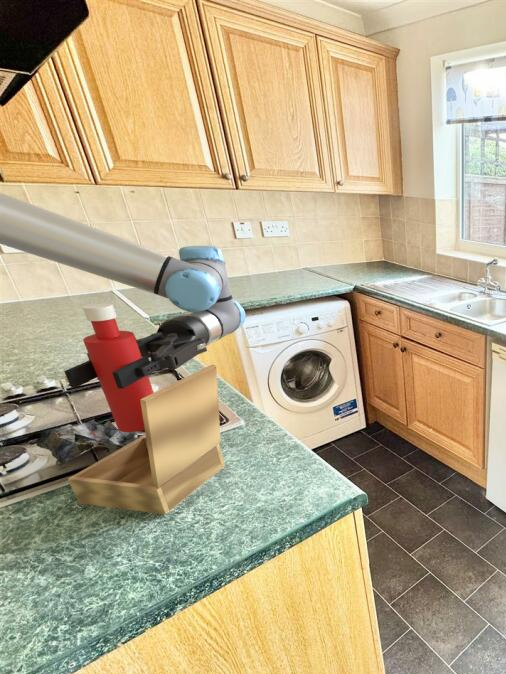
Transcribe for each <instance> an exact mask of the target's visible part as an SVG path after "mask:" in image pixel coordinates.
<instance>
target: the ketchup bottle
mask: <svg viewBox="0 0 506 674" xmlns="http://www.w3.org/2000/svg"><path fill="white" fill-rule="evenodd" d="M82 309H83V312H84V315H85V318H86V320H87V321H89V322H90V323H91V325H92V329H93V332H94V334H91V335H88V336H87V335H86V336H85V337H84V338H83V339H82V341H83V344H84V347H85V349H86V351H87V353H88V354H89V357H90V359H91V362H92V364H93V367H94V369H95V372H96V374H97V380H98V382H99V384H100V387H101V389H102V392H103V395H104V397H105V400H106V403H107V405H108V407H109V410H110V413H111V414H112V415H111V416H112V417H113V420H114V422H115V426H116V428H117V429H118V430H119V431H122V432H137V433H138V432H142V431H145V427H144V421H143V414H142V408H141V401H140V399H142V398H144V397H146V396H149V395H151V394H153V393H155V391H154V389H153V387H152V383H151V381H150V377H149V375H147V376H145V377H143V378H141V379H140V380H138V381H136V382H134V383H132V384H131V385H129V386H127V387H125V388H123V389H121V388H118V387H117V384H116V382H115V379H114V376H113V374H112V372H114V371H116V370H118V369H120V368H122V367H124V366H126V365H128V364H130V363H132V362H134V361H136V360H138V359H140V358H142V356H141V353H140V350H139V347H138V345H137V342H136V340H137V338H136V339H135V337H136V336H135V333H134V332H133V331H130V330H120V329H119V326H118V323H117V320H116V318H117V317H118V315H117V313H116V310H115V307H114V304H113V303H111V302H96V303H88V304H85V305H83V306H82Z"/></svg>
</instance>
